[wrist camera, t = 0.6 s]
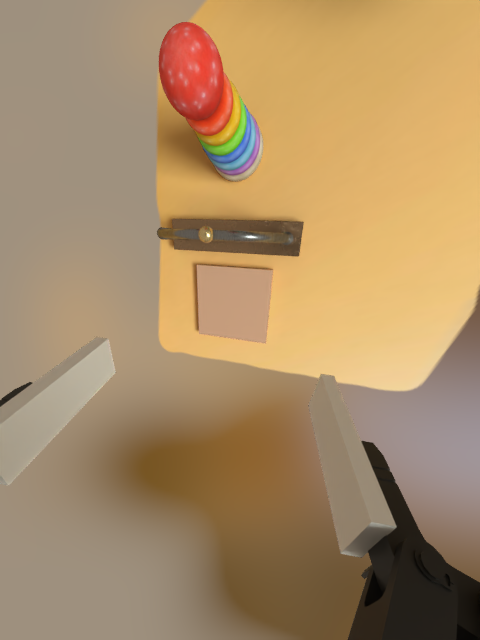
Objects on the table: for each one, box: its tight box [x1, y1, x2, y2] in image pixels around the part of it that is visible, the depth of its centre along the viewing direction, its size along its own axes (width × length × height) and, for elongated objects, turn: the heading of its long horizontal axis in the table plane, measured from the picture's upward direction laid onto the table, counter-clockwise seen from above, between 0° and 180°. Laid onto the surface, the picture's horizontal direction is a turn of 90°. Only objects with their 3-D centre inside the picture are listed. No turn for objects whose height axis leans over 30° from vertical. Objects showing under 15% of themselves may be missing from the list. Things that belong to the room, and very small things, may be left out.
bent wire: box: [157, 219, 304, 256], centre depth 29 cm, size 22×5×14 cm, turn 89°
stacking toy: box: [159, 22, 263, 182], centre depth 23 cm, size 8×8×19 cm
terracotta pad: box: [197, 264, 273, 343], centre depth 40 cm, size 14×14×1 cm
